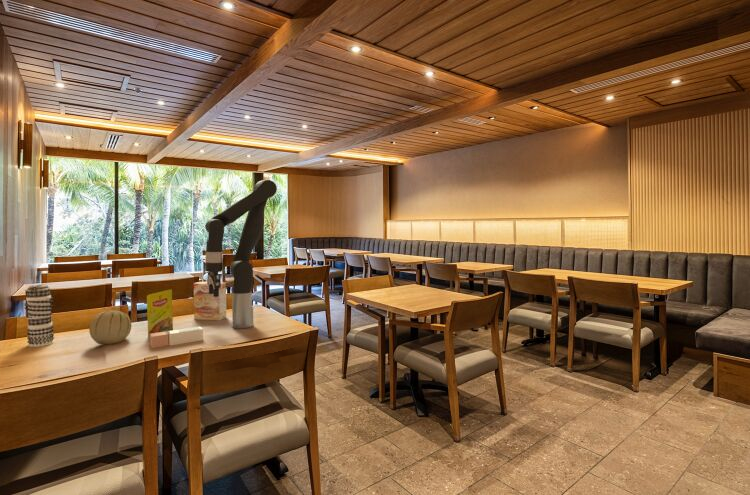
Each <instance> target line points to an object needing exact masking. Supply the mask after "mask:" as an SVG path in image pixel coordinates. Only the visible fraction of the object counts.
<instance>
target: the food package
mask: <svg viewBox="0 0 750 495" xmlns="http://www.w3.org/2000/svg"><path fill="white" fill-rule="evenodd" d="M146 310H147V311H146V314H147V338H150V334H151V333H158V332H165V331H172V330H174V318H173V316H174V315H173V290H172V289H166V290H162V291H158V292H154V293H150V294H147V295H146Z"/></svg>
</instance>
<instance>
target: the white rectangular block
mask: <svg viewBox="0 0 750 495" xmlns="http://www.w3.org/2000/svg"><path fill="white" fill-rule="evenodd" d="M167 333H168V340H169V346H174V345H181V344H187V343H192V342H198V341H204V329H203V327H201V326H191V327H187V328H186V327H185V328H181V329H173V330H172V331H167ZM169 346H168V347H169Z"/></svg>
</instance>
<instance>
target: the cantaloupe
mask: <svg viewBox="0 0 750 495" xmlns="http://www.w3.org/2000/svg"><path fill="white" fill-rule="evenodd" d="M131 330H132V320H131V319H130V317H129V315H128V314H126V313H125V312H123V311H121V310H116V308H115V307H113V308H112V310H111V309H109V310H104V311H101V312H100V313H98V314H96V315H95V316H94V317H93V319H92V321H91V322H90V324H89V330H88V331H89V332H88V333H89V335H90V337H91V338H92V341H94V342H95V343H97V344H99V345H103V346H106V345H112V344H113V345H114V344H118V343H122V342H123V341H124V340H126V339H127V338H128V336H129V335H130V334H131Z"/></svg>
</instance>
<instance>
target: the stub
mask: <svg viewBox="0 0 750 495" xmlns="http://www.w3.org/2000/svg"><path fill="white" fill-rule="evenodd" d="M149 342H150V347H151V349H157V348H162V347H167V346H168V347H169V340H168V333H167V331H165V332H158V333H151V334H150V337H149Z"/></svg>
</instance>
